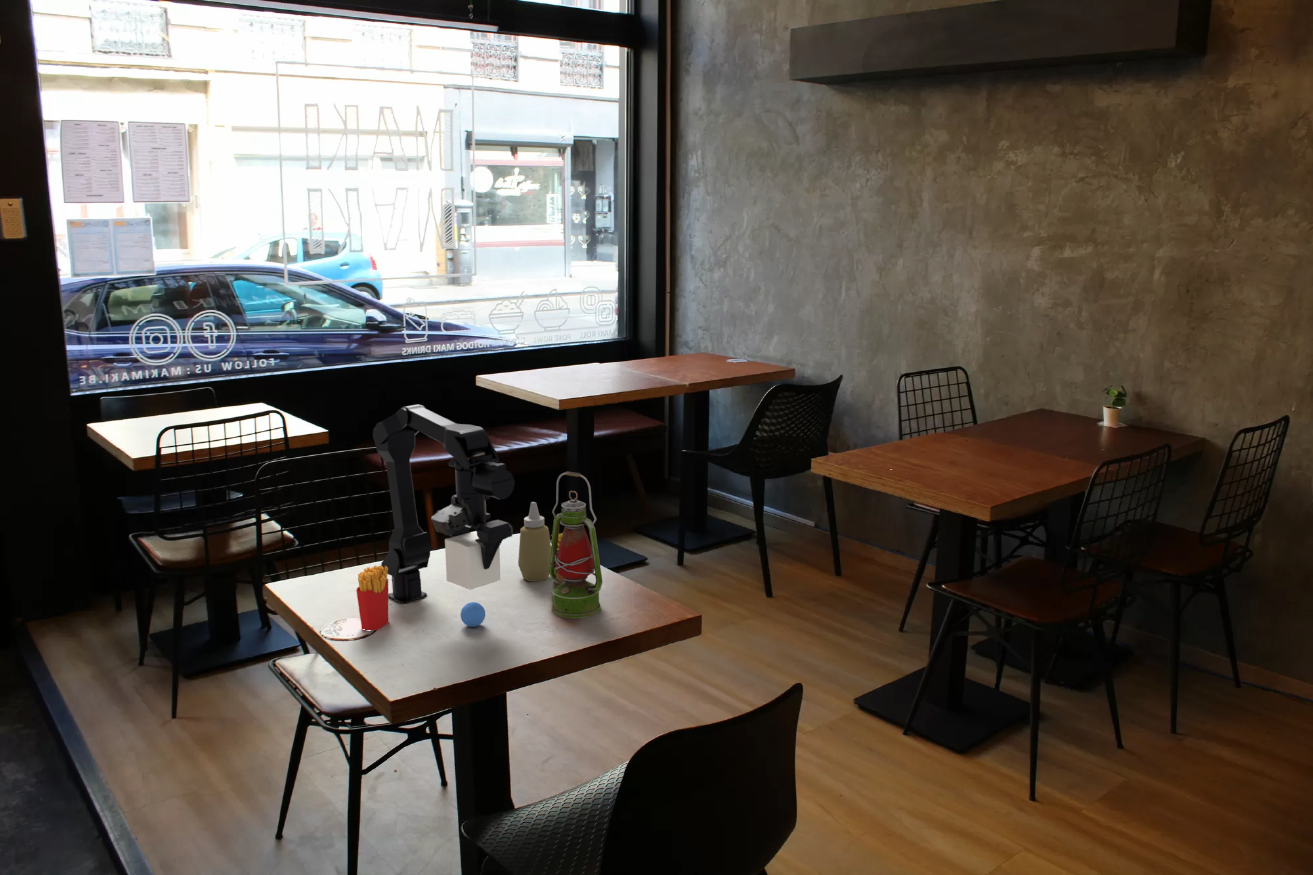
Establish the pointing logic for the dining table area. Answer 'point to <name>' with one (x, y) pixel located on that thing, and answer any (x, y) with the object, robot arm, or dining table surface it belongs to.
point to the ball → (472, 614)
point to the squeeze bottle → (534, 547)
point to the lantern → (575, 560)
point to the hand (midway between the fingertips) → (474, 564)
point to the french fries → (373, 597)
